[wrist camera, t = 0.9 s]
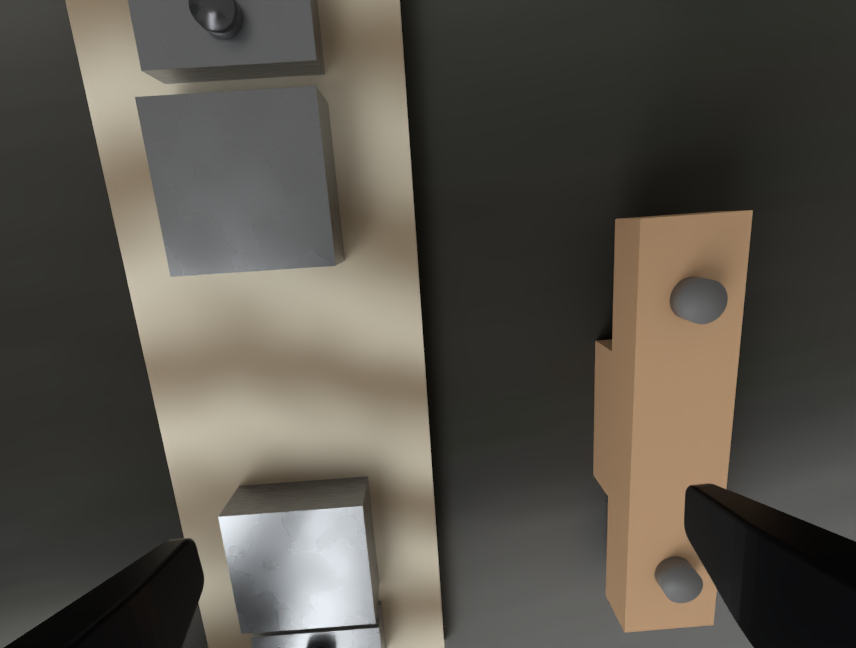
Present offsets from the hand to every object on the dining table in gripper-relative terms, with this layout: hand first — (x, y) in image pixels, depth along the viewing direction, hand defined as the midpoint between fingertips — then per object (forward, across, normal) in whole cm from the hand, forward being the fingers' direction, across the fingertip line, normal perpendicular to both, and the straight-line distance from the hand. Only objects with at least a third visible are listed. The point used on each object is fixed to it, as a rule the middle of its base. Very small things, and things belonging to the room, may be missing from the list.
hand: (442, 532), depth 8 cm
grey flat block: (+12, +6, -9) cm, 16 cm away
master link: (+13, -10, +4) cm, 16 cm away
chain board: (+12, +6, +1) cm, 14 cm away
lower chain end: (+11, +7, +11) cm, 17 cm away
